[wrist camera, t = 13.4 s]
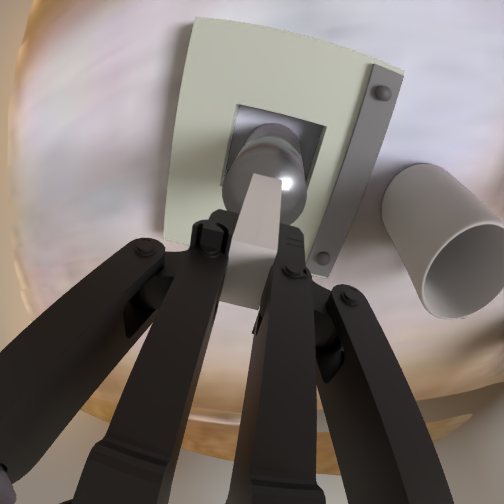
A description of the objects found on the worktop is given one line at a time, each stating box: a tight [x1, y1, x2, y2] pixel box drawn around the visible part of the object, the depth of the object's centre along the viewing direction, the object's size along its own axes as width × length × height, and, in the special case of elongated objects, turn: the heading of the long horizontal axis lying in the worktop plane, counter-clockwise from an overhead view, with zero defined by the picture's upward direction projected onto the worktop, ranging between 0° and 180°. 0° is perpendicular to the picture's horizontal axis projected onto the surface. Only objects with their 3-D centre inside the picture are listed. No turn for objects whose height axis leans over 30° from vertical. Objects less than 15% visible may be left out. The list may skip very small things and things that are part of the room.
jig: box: [163, 17, 404, 279], centre depth 23 cm, size 20×16×3 cm
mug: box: [382, 164, 504, 320], centre depth 22 cm, size 12×8×11 cm
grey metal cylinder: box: [222, 123, 307, 225], centre depth 20 cm, size 5×5×10 cm
